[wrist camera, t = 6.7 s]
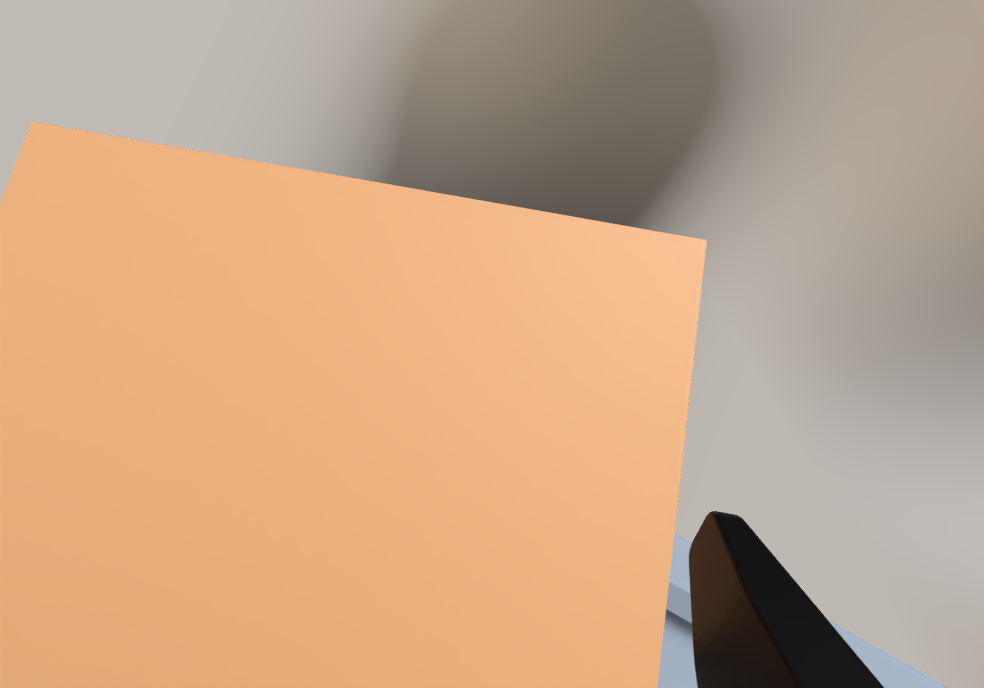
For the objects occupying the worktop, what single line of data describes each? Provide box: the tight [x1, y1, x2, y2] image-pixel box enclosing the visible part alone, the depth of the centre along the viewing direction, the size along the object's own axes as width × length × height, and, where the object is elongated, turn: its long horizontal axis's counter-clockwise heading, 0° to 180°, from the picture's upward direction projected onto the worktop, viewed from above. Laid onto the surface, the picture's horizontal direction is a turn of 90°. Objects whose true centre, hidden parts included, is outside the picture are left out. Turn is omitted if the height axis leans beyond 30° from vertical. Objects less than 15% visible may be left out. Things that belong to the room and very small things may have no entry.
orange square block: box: [0, 122, 707, 688], centre depth 10 cm, size 6×6×13 cm
